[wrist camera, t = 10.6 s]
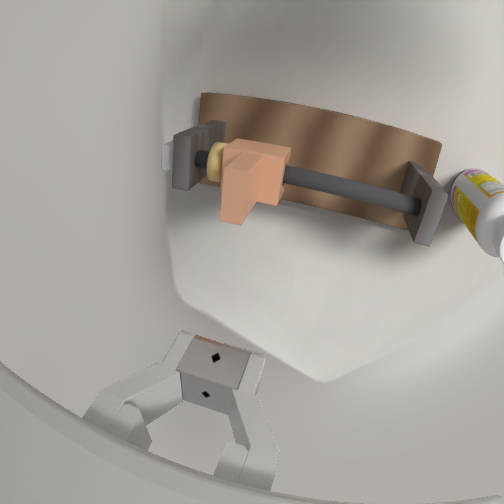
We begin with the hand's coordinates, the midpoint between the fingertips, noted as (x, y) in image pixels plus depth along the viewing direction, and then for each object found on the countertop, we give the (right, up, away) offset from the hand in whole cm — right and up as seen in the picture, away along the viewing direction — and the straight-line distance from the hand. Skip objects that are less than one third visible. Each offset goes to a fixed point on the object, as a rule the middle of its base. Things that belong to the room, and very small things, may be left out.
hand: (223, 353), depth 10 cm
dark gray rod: (+5, +11, +18) cm, 21 cm away
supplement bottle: (+27, +11, +20) cm, 36 cm away
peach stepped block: (+2, +11, +18) cm, 21 cm away
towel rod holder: (+8, +14, +23) cm, 29 cm away
